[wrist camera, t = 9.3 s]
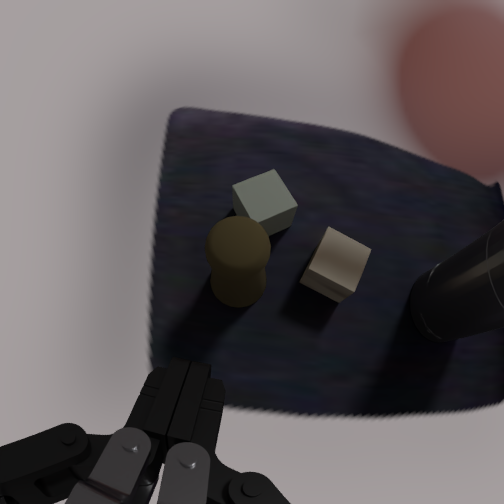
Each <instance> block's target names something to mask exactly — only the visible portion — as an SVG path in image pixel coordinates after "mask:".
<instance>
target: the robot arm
mask: <svg viewBox="0 0 504 504" xmlns="http://www.w3.org/2000/svg"><path fill="white" fill-rule="evenodd" d="M410 311H411V315H412V319H413V321H414V323H415V326H416V327H417V329H418V330H419V332H420V333H421V334H422V335H423V336H424V337H425V338H427V339H429V340H431V341H434V342H446V341H451V340H455V339H460V338H464V337H468V336H472V335H476V334H480V333H484V332H488V331H492V330H495V329H499V328H502V327H504V220H503V221H502V222H501V223H499V224H498V225H496V226H495V227H494V228H492V229H491V230H490V231H488V232H487V233H485V234H484V235H483V236H481V237H480V238H478V239H477V240H475V241H474V242H472V243H471V244H469V245H468V246H466V247H465V248H463V249H462V250H460V251H459V252H457V253H456V254H454V255H453V256H451V257H450V258H448V259H446V260H445V261H443V262H442V263H440V264H438V265H437V266H435V267H434V268H432V269H430V270H429V271H427V272H425V273H424V274H423V275H421V276H420V277H419V278H418V279H417V281H416V282H415V284H414V286H413V288H412V292H411V295H410ZM210 376H211V365H210V364H205V363H200V362H195V361H190V360H185V359H181V358H176V357H173V358H172V359H171V362H170V364H169V366H168V369H166V368H162V367H157V368H156V369H154V370H153V371H152V372H151V373H150V374H148V377H147V379H146V381H145V383H144V386H143V388H142V390H141V392H140V395H139V396H138V398H137V401H136V403H135V405H134V407H133V409H132V411H131V414H130V416H129V418H128V420H127V423H126V424H125V426H124V427H123V428H122V429H119V430H118V431H116V432H115V433H114V434H111V435H95V434H86V432H85V431H84V430H83V429H82V428H81V427H80V426H78V425H76V424H73V423H64V424H61V425H58V426H56V427H53V428H51V429H48V430H45V431H43V432H41V433H38V434H35V435H32V436H29V437H27V438H24V439H21V440H18V441H16V442H13V443H10V444H7V445H4V446H1V447H0V504H54V503H57V502H59V501H61V500H64V499H67V498H68V499H67V501H66V502H65V504H149V501H150V499H151V497H152V494H153V492H154V489H155V487H156V484H157V482H158V479H159V472H160V469H161V466H162V463H164V464H165V466H164V471H163V476H162V481H161V486H160V491H159V496H158V501H157V504H290V503H289V501H288V500H287V499H286V498H285V497H284V496H283V495H282V493H280V491H279V490H278V489H277V488H276V487H275V485H274V484H273V483H272V482H271V481H270V480H269V479H268V478H267V477H266V476H264V475H262V474H260V473H256V472H245V473H240V472H238V471H235V470H233V469H231V468H229V467H227V466H225V465H224V464H222V463H221V462H220V461H219V459H218V458H217V456H216V454H215V448H216V443H217V437H218V433H219V428H220V423H221V418H222V413H223V405H224V398H225V388H224V385H223V382H222V380H218V379H213V378H210Z"/></svg>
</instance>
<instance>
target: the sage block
mask: <svg viewBox="0 0 504 504" xmlns="http://www.w3.org/2000/svg"><path fill="white" fill-rule="evenodd" d="M232 189H233V209H234V211H235V213H236V214H237V216H244V217H248V218H250V219H253V220H255V221H256V222H258V223H259V224H260V225H261V226H263V228H264V230H265V231H266V233H267V234H268V236H270V235H272V234H274V233H277V232H279V231H281V230H283V229H286V228H288V227H290V226H291V224H292V221H293V218H294V215H295V212H296V209H297V206H298V205H297V203H296V202H295V200H294V199H293V197H292V196H291V194H290V192H289V191H288V189H287V188H286V186H285V185H284V183H283V182H282V180H281V178H280V177H279V175H278V174H277V172H276V171H275V169H274V170H271V171H268V172H266V173H263V174H261V175H258V176H255V177H253V178H250V179H248V180H245V181H242V182H240V183H237V184H235V185H232Z"/></svg>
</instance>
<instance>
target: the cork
mask: <svg viewBox="0 0 504 504" xmlns="http://www.w3.org/2000/svg"><path fill="white" fill-rule="evenodd" d="M270 249H271V245H270V241H269V237H268V234H267V233H266V231H265V230H264V228H263V226H261V225H260V224H259V223H258V222H256V221H255V220H253V219H250V218H248V217H244V216H232V217H227V218H225V219H223V220H221V221H219V222H218V223H217V224H216V225H215V226H213V227H212V229H211V230H210V232H209V234H208V236H207V238H206V244H205V253H206V258H207V261H208V263H209V264H210V266H211V268H212V272H211V279H210V282H211V288H212V291H213V293H214V294H215V296H216V297H217V298H218V299H219V300H220V301H221V302H222V303H224V304H226V305H228V306H230V307H237V308H241V307H246V306H249V305H251V304H253V303H255V302H256V301H257V300H258V299H259V298H260V297H261V296H262V294H263V292H264V290H265V288H266V273H265V268H264V267H265V266H266V264H267V262H268V259H269V257H270Z"/></svg>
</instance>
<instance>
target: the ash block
mask: <svg viewBox="0 0 504 504" xmlns="http://www.w3.org/2000/svg"><path fill="white" fill-rule="evenodd" d="M370 251H371V249H370V248H368V247H366V246H364V245H362V244H360V243H359V242H357V241H355V240H353V239H351V238H349V237H347V236H345V235H344V234H342V233H340V232H338V231H336V230H334V229H332V228H330V227H328V228H327V230H326V232H325V233H324V235H323V237H322V238H321V240H320V242H319V243H318V245H317V247H316V249H315V251H314V253H313V255H312V257H311V259H310V262H309V264H308V266H307V268H306V270H305V272H304V274H303V276H302V278H301V280H300V283H301V284H303V285H305V286H307V287H309V288H311V289H313V290H315V291H317V292H319V293H321V294H323V295H325V296H327V297H329V298H330V299H332V300H334V301H336V302H338V303H340V302H341V301H343V300H344V299H345V298H347V297H348V296H350V295H351V294H352V293H354V292H355V289H356V287H357V285H358V282H359V280H360V277H361V275H362V272H363V270H364V267H365V264H366V262H367V259H368V257H369V254H370Z"/></svg>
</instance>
